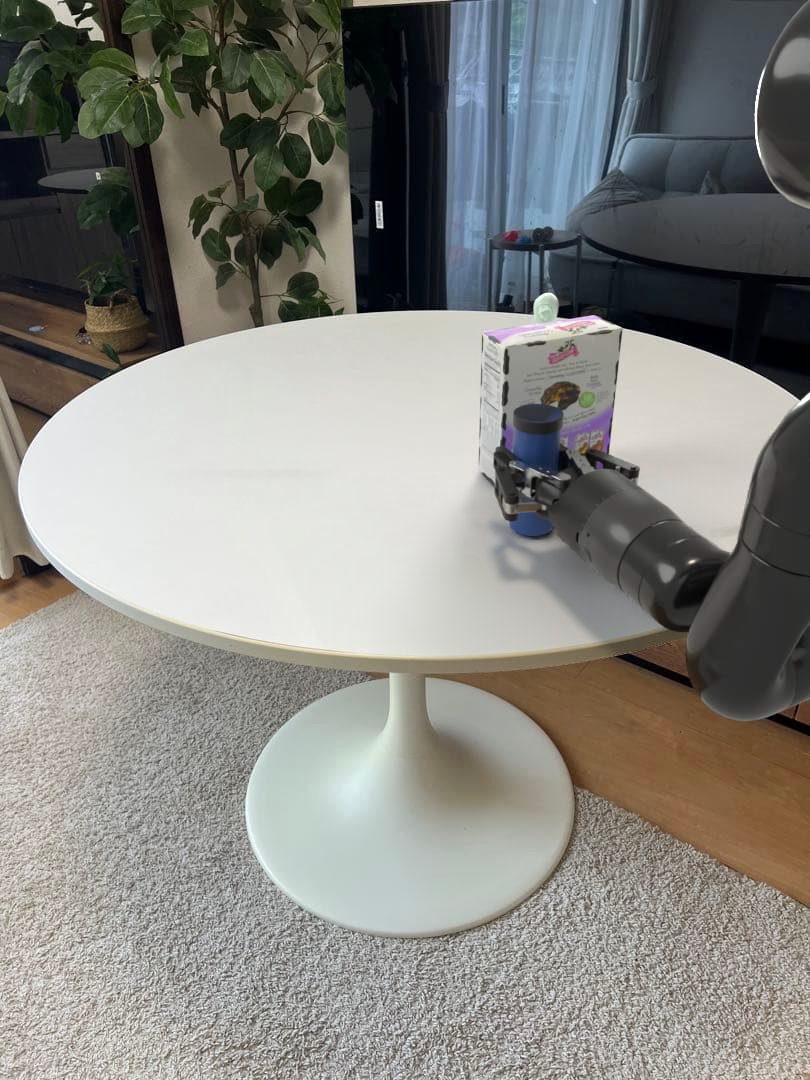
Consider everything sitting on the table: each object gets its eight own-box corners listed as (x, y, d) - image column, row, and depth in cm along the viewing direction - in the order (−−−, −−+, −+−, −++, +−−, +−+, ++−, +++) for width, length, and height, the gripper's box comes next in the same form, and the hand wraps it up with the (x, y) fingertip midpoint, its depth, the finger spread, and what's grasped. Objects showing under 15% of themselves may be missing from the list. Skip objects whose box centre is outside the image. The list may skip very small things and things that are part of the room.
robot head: (530, 326, 137) (532, 287, 134) (553, 326, 137) (556, 286, 133) (534, 340, 130) (536, 299, 127) (559, 340, 130) (562, 299, 126)
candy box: (581, 450, 94) (595, 312, 86) (608, 470, 90) (626, 327, 81) (476, 470, 90) (479, 328, 82) (498, 492, 86) (505, 344, 77)
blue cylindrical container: (539, 509, 81) (547, 400, 75) (562, 530, 78) (573, 417, 72) (499, 518, 80) (504, 408, 74) (521, 540, 76) (528, 426, 70)
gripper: (702, 474, 64) (587, 403, 78) (548, 509, 60) (455, 427, 73) (687, 552, 68) (580, 471, 82) (541, 590, 64) (454, 498, 77)
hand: (521, 450), depth 77 cm, fingers closed on blue cylindrical container, 4 cm apart
